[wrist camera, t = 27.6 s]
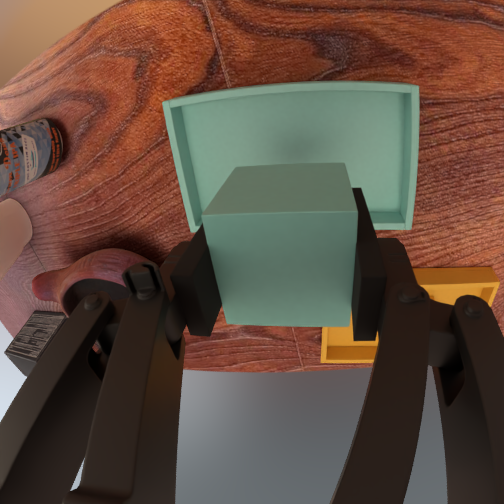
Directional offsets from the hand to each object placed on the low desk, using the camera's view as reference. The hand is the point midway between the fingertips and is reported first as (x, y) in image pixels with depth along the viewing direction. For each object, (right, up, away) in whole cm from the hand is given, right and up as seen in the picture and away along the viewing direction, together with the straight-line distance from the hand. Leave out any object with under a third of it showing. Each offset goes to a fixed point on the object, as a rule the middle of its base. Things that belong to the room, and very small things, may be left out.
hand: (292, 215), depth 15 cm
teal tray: (+2, +6, +9) cm, 11 cm away
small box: (-34, -14, +31) cm, 48 cm away
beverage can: (-23, +10, +12) cm, 28 cm away
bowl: (-16, -5, +21) cm, 27 cm away
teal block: (0, 0, 0) cm, 0 cm away
